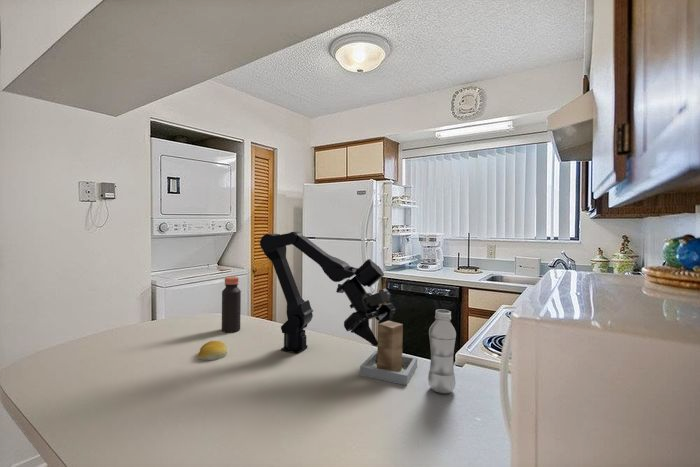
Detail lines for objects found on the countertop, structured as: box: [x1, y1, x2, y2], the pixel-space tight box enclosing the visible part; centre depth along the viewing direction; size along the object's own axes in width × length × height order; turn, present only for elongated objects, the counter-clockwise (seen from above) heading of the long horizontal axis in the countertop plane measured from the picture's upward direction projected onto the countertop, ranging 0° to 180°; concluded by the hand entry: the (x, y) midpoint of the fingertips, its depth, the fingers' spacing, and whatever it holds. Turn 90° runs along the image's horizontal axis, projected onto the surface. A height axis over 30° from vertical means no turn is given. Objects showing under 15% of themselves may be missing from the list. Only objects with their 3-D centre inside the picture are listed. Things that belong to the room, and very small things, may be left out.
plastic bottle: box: [427, 309, 457, 394], centre depth 85 cm, size 6×7×20 cm
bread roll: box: [197, 340, 229, 361], centre depth 104 cm, size 8×9×4 cm
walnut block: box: [376, 321, 404, 372], centre depth 95 cm, size 5×5×13 cm
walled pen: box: [359, 350, 418, 386], centre depth 96 cm, size 13×13×2 cm
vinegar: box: [221, 276, 242, 334], centre depth 128 cm, size 7×7×20 cm
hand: (386, 341), depth 96 cm, fingers open, 9 cm apart
